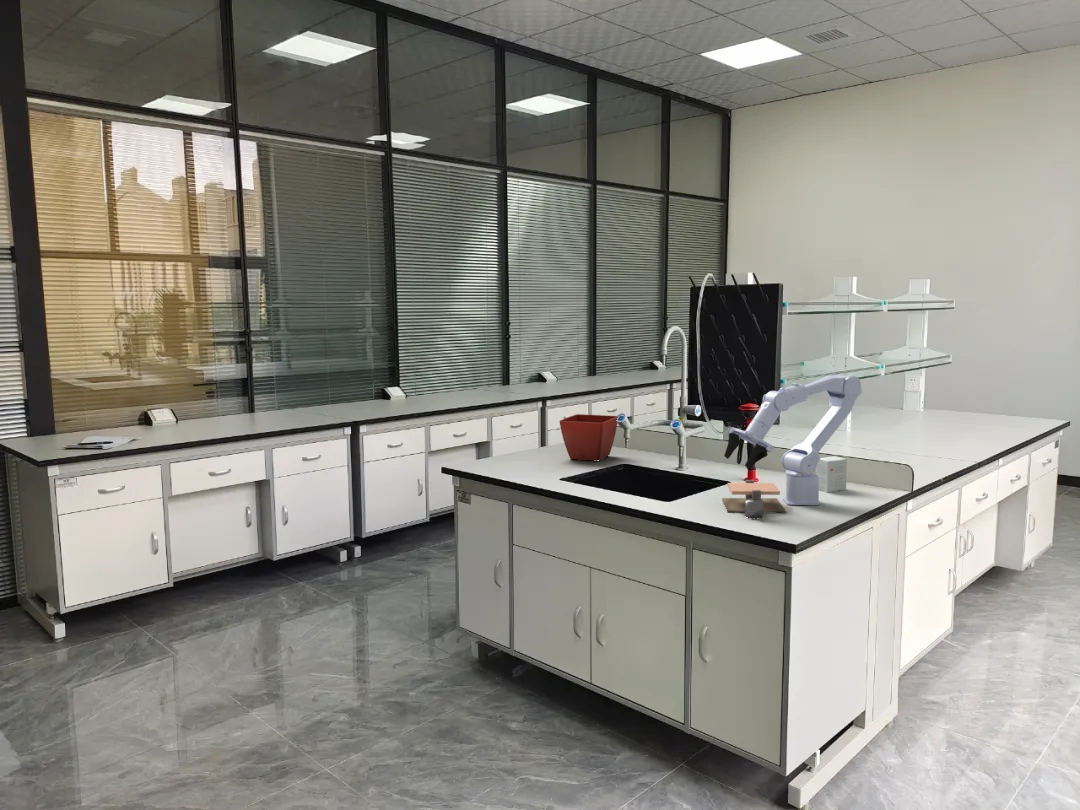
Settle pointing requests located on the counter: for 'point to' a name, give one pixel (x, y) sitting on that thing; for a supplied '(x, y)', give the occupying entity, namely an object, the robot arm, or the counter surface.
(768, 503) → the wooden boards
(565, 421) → the plant pot
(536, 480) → the counter surface
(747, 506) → the block
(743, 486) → the tipping door
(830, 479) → the small box
